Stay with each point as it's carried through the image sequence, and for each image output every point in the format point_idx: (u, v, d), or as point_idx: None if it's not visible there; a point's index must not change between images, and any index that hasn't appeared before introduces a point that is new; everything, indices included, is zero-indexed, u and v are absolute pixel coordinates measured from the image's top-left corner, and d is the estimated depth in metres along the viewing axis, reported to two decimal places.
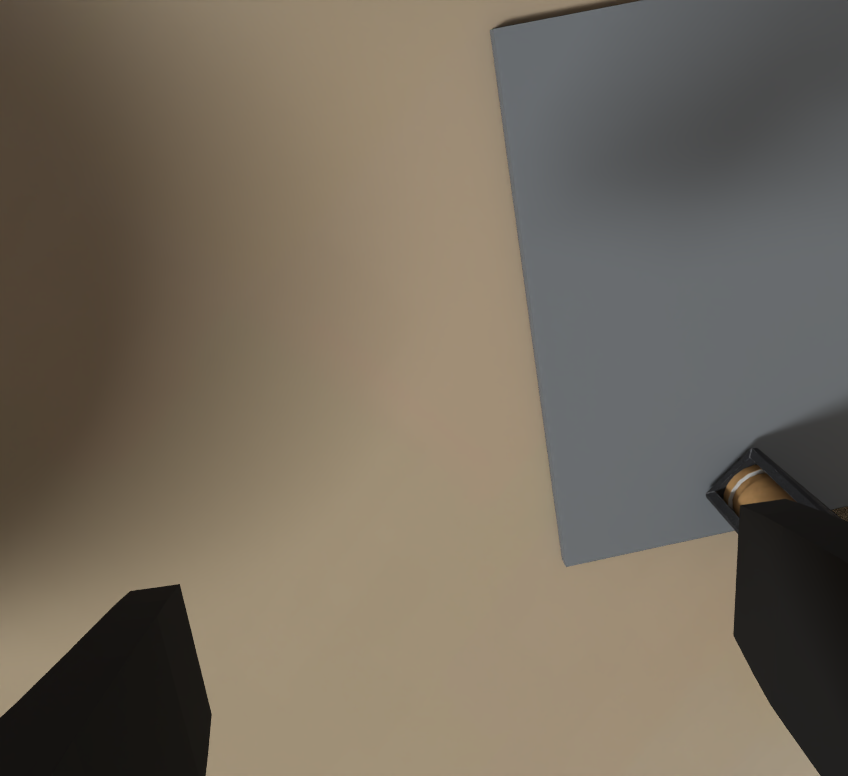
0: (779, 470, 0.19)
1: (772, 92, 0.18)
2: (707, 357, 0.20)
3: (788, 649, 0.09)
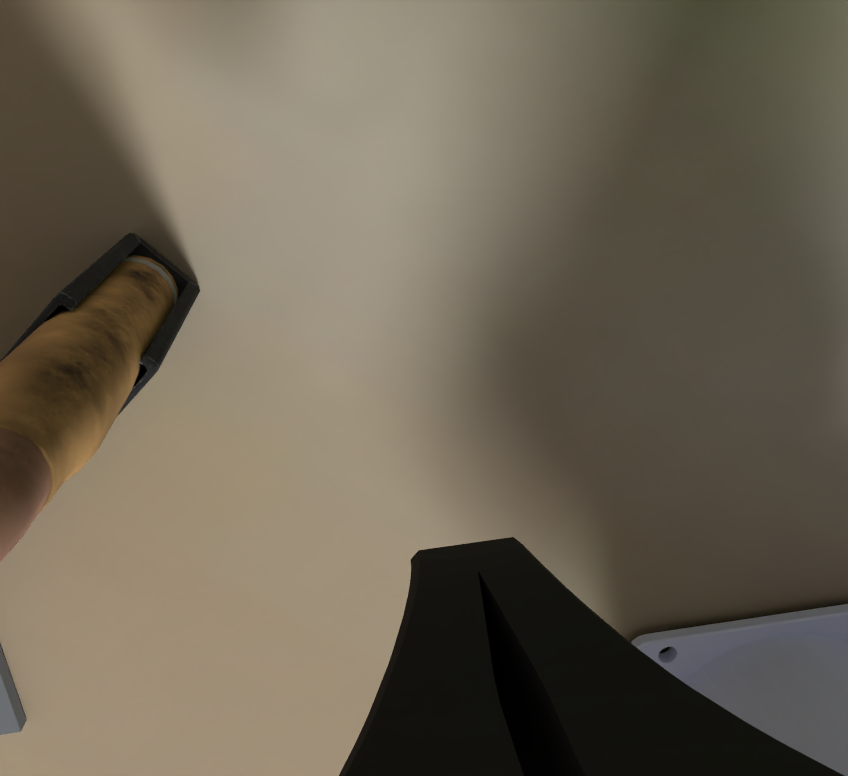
0: None
1: None
2: None
3: None
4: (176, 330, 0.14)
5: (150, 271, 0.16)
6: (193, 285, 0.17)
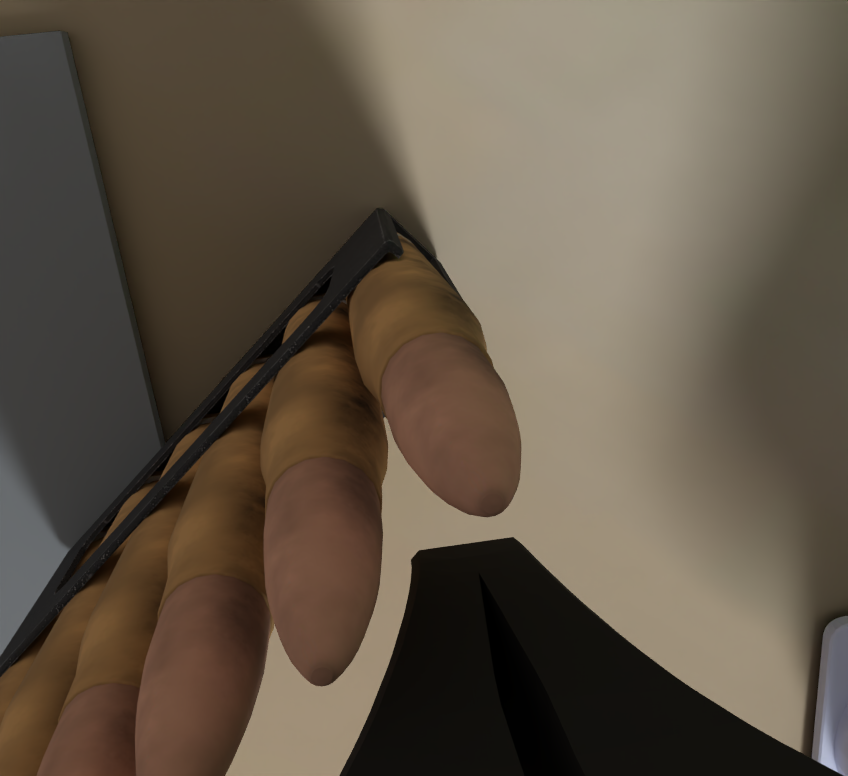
0: None
1: None
2: None
3: None
4: None
5: (409, 242, 0.16)
6: (438, 261, 0.17)
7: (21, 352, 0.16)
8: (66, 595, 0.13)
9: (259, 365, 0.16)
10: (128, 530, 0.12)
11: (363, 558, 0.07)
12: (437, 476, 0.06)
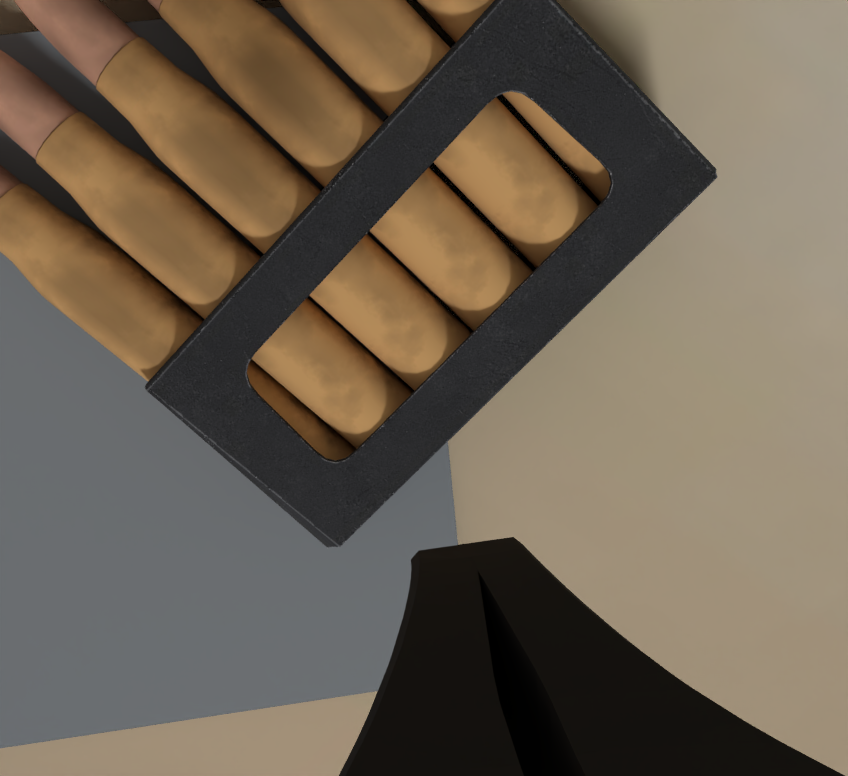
0: None
1: None
2: (238, 565, 0.19)
3: None
4: None
5: None
6: (704, 159, 0.15)
7: (325, 313, 0.17)
8: None
9: None
10: None
11: None
12: None
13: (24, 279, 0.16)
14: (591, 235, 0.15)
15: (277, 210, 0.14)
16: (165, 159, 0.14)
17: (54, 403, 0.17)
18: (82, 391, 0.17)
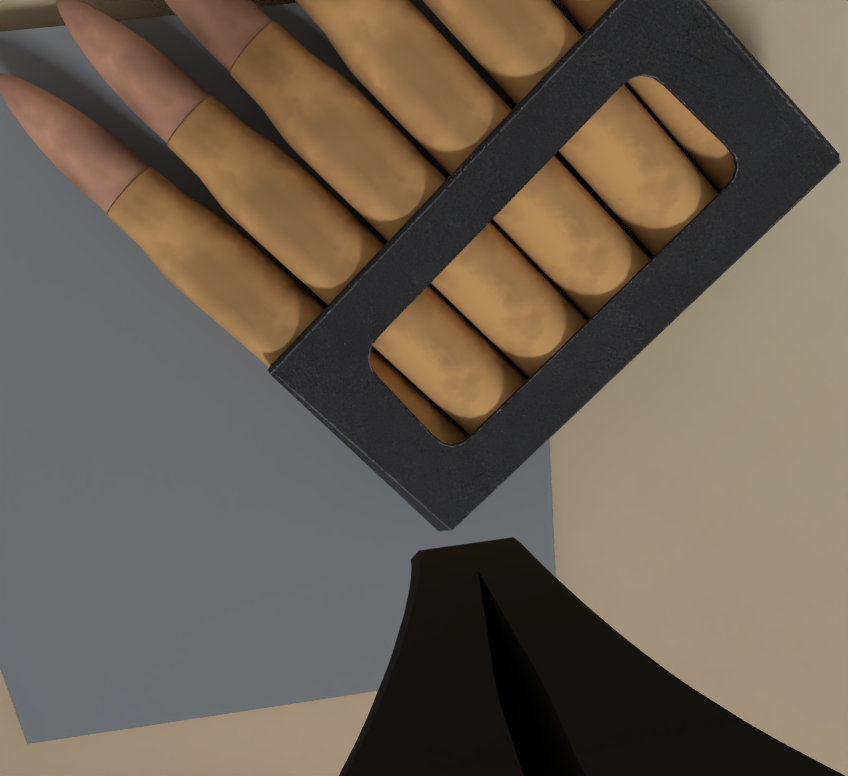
0: None
1: (60, 519, 0.18)
2: (337, 551, 0.19)
3: None
4: None
5: None
6: (827, 144, 0.15)
7: None
8: None
9: None
10: None
11: None
12: None
13: (142, 263, 0.16)
14: (714, 219, 0.15)
15: (407, 194, 0.14)
16: (297, 143, 0.14)
17: (165, 388, 0.17)
18: (193, 376, 0.17)
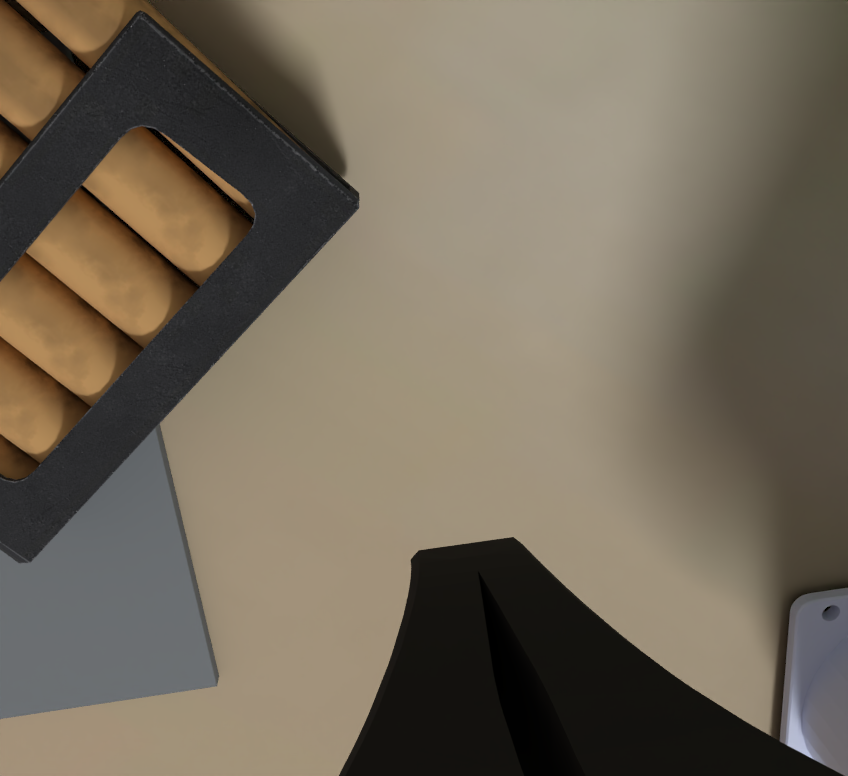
0: None
1: None
2: None
3: None
4: (227, 85, 0.14)
5: None
6: (348, 190, 0.15)
7: None
8: None
9: None
10: None
11: None
12: None
13: None
14: (241, 263, 0.15)
15: None
16: None
17: None
18: None
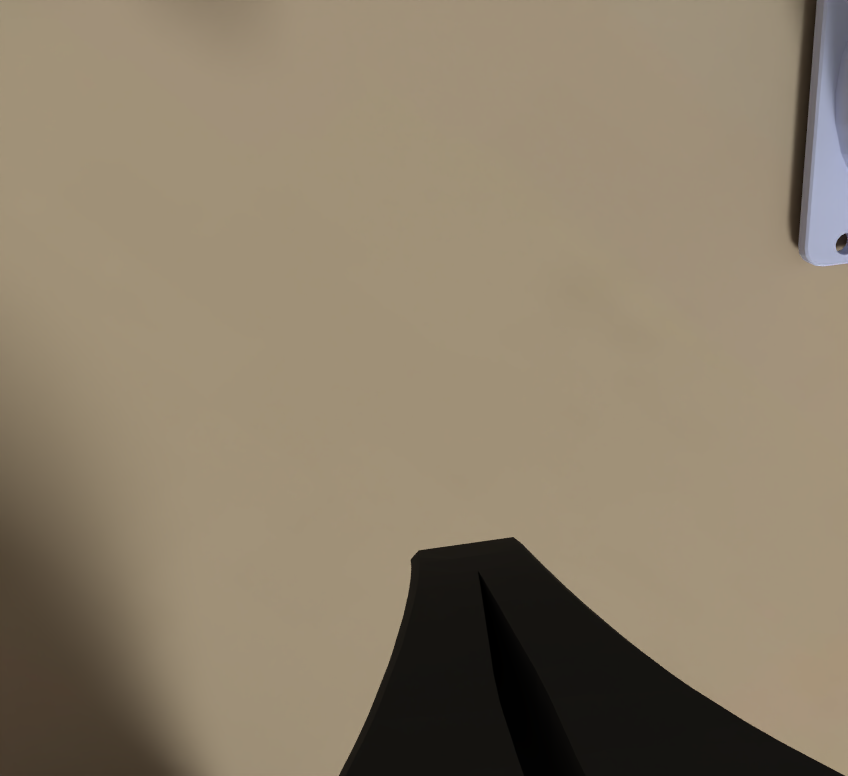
0: None
1: None
2: None
3: None
4: None
5: None
6: None
7: None
8: None
9: None
10: None
11: None
12: None
13: None
14: None
15: None
16: None
17: None
18: None
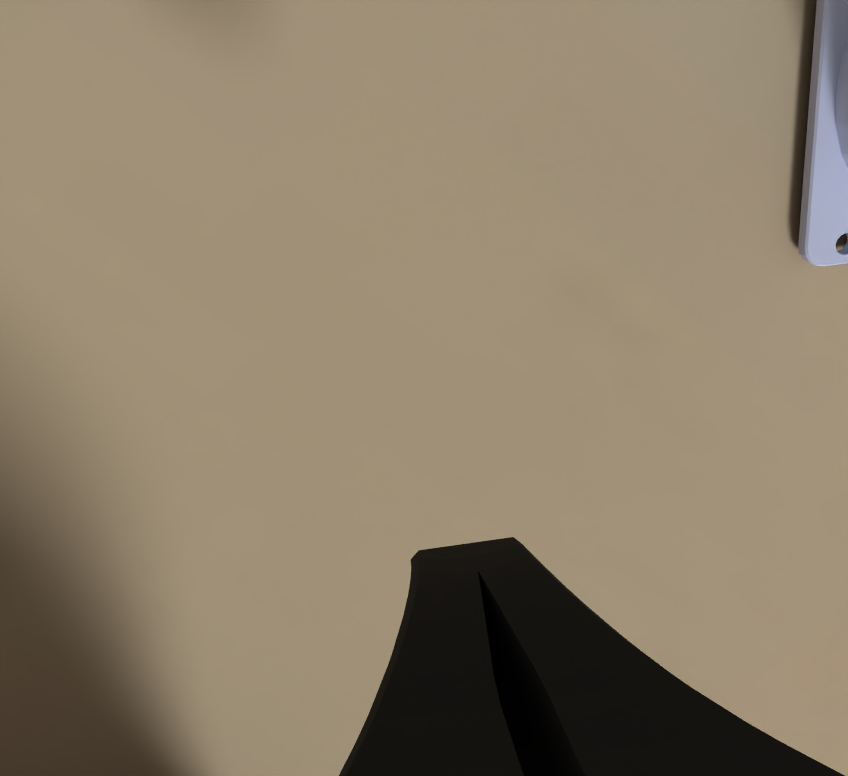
0: None
1: None
2: None
3: None
4: None
5: None
6: None
7: None
8: None
9: None
10: None
11: None
12: None
13: None
14: None
15: None
16: None
17: None
18: None
